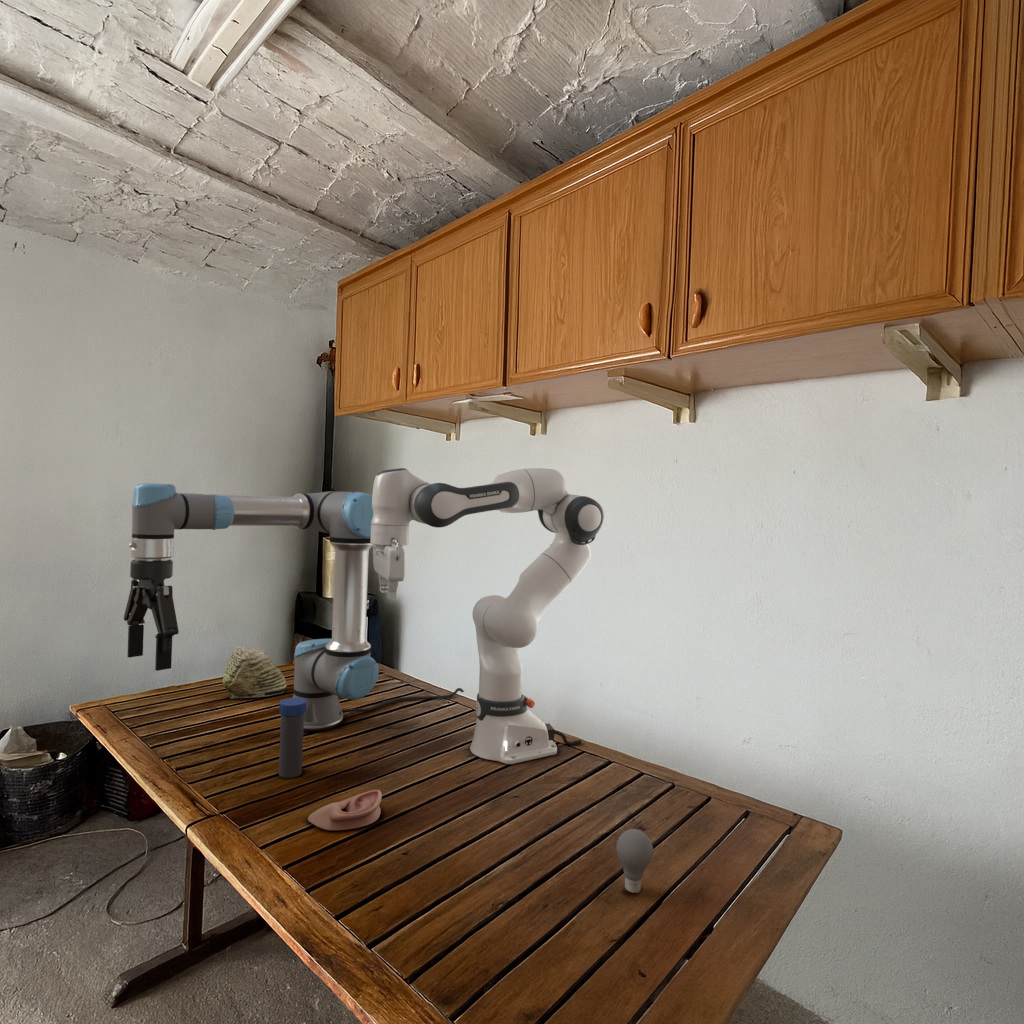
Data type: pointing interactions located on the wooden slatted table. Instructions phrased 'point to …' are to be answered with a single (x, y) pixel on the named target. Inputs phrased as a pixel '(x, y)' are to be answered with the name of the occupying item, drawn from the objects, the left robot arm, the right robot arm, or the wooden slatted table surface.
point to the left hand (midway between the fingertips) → (148, 662)
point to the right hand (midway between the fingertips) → (387, 595)
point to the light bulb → (634, 857)
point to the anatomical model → (349, 812)
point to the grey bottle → (291, 746)
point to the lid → (292, 706)
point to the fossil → (252, 674)
